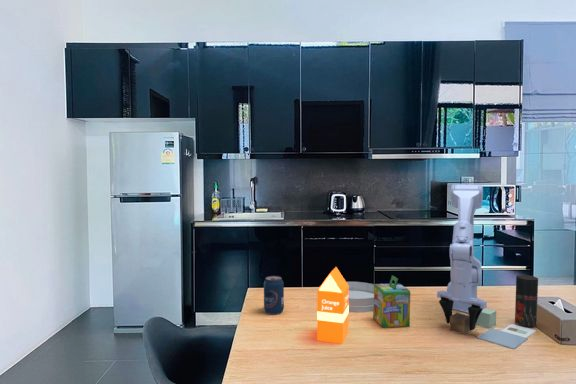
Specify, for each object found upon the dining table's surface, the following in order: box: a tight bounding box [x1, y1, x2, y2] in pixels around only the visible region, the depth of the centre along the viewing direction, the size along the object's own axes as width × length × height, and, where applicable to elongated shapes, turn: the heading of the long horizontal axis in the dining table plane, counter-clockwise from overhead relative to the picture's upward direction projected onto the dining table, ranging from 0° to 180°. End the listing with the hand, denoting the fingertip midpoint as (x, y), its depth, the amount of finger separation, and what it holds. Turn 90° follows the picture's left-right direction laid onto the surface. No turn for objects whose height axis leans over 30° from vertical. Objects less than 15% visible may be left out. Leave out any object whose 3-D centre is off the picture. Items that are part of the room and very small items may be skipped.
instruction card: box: [500, 323, 537, 338], centre depth 123 cm, size 7×9×1 cm
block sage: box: [476, 307, 497, 329], centre depth 129 cm, size 4×4×4 cm
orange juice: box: [316, 266, 350, 344], centre depth 120 cm, size 8×9×20 cm
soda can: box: [263, 275, 285, 316], centre depth 142 cm, size 7×7×12 cm
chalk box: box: [372, 275, 411, 329], centre depth 131 cm, size 9×9×15 cm
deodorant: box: [514, 274, 539, 329], centre depth 128 cm, size 6×6×15 cm
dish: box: [346, 281, 374, 313], centre depth 152 cm, size 22×22×5 cm
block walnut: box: [449, 312, 472, 335], centre depth 124 cm, size 4×4×4 cm
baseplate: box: [477, 327, 528, 350], centre depth 118 cm, size 10×10×1 cm
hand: (460, 325), depth 124 cm, fingers open, 7 cm apart
